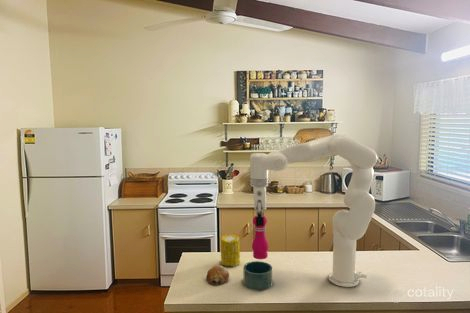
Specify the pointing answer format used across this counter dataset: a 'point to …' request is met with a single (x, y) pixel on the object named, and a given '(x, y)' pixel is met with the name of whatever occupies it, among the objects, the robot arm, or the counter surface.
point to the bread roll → (217, 275)
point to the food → (230, 250)
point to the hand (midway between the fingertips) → (259, 222)
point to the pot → (257, 275)
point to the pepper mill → (260, 241)
